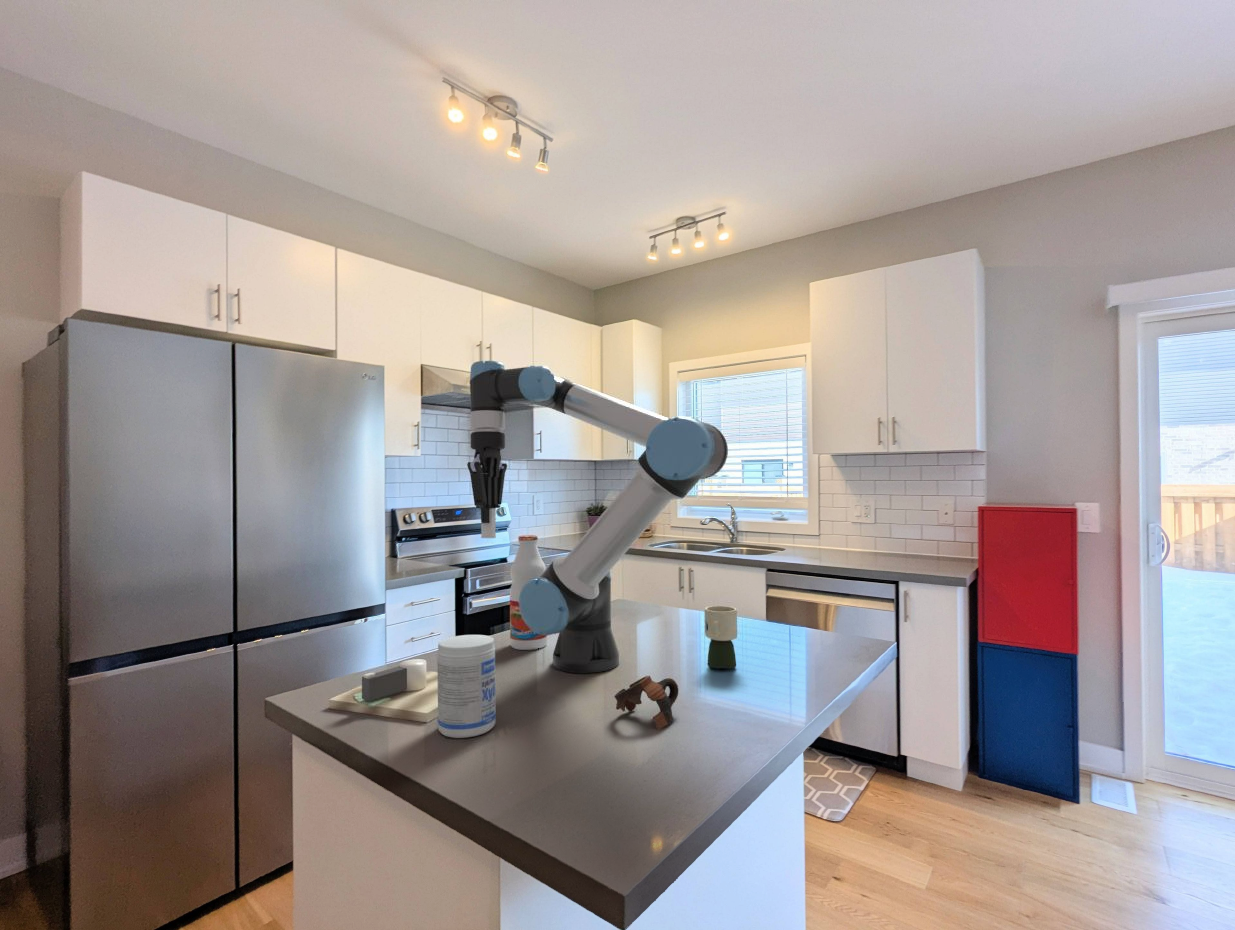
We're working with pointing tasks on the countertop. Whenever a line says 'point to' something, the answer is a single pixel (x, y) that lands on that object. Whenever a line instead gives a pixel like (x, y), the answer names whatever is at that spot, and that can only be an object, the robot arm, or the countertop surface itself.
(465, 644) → the supplement tub
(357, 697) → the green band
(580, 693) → the countertop surface
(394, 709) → the board
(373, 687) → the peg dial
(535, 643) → the fruit juice
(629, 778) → the countertop surface
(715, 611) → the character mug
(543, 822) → the countertop surface
